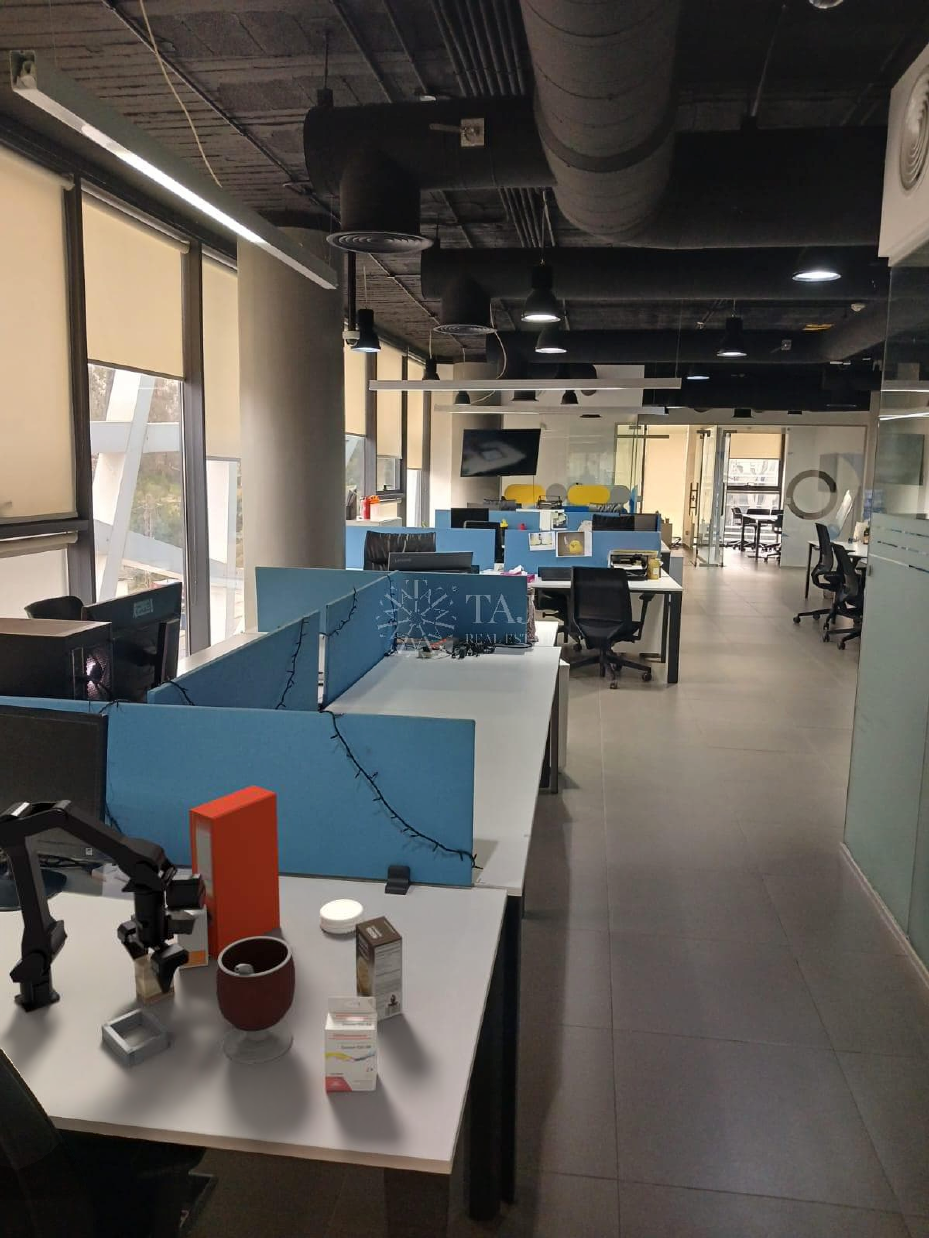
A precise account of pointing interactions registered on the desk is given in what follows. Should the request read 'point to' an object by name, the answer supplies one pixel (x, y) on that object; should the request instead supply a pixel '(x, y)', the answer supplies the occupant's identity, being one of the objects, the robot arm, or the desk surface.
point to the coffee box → (379, 965)
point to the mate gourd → (256, 997)
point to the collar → (144, 1049)
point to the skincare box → (196, 940)
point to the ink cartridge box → (351, 1045)
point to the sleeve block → (148, 982)
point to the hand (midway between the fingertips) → (154, 982)
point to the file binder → (237, 865)
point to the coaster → (341, 916)
